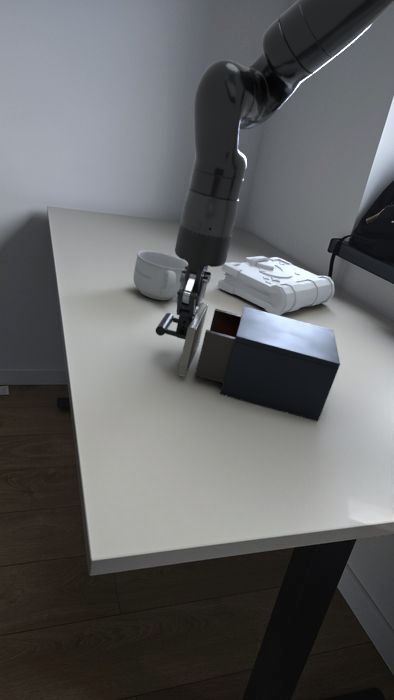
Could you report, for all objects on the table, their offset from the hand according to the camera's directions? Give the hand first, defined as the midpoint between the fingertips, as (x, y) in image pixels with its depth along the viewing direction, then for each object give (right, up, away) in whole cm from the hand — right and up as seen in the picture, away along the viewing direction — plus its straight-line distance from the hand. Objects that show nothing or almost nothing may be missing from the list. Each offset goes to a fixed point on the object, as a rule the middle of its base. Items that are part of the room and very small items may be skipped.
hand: (182, 336), depth 76 cm
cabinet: (+14, -8, +1) cm, 16 cm away
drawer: (+4, -5, +1) cm, 6 cm away
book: (+22, +11, +43) cm, 50 cm away
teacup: (-6, +9, +25) cm, 27 cm away
